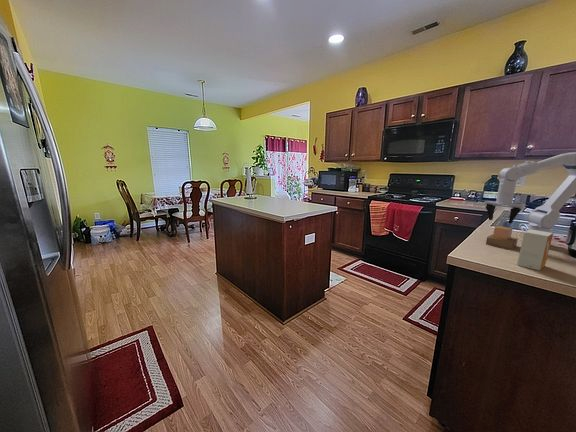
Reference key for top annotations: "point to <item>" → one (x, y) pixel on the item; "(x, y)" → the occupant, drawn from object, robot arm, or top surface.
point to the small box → (534, 249)
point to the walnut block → (501, 242)
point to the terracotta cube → (502, 232)
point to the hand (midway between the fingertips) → (500, 221)
